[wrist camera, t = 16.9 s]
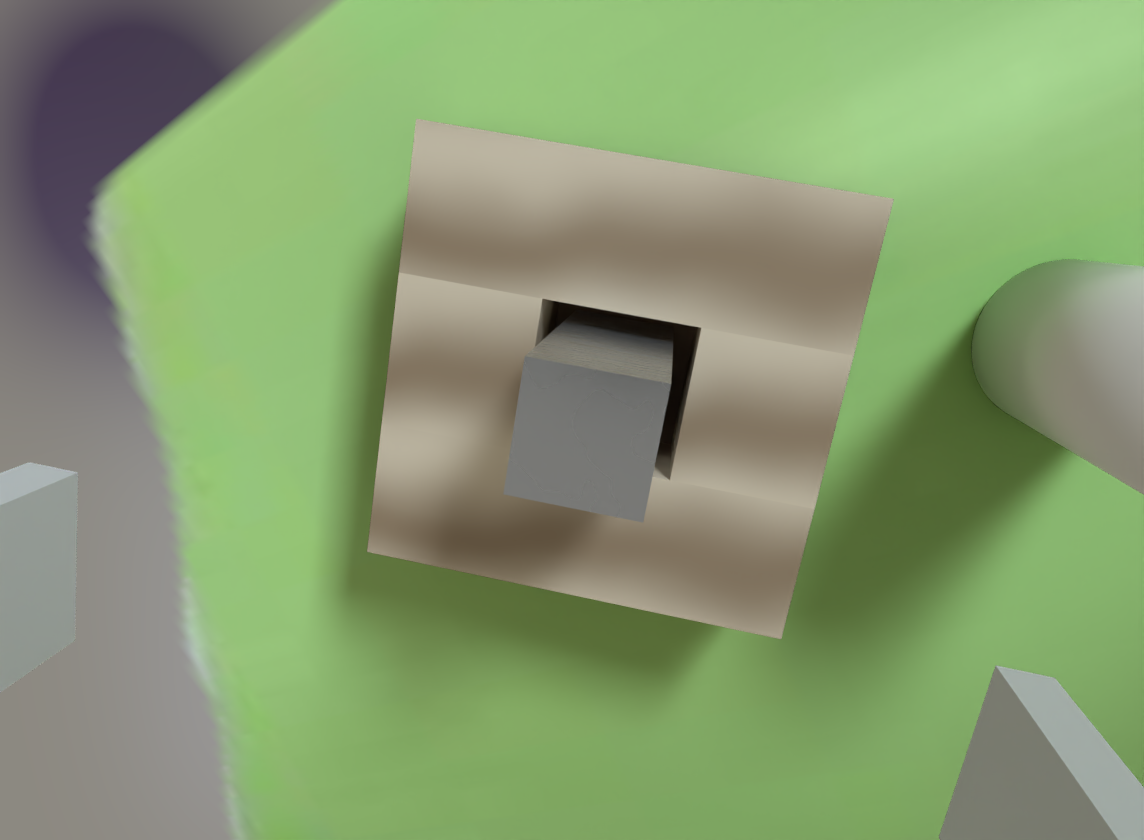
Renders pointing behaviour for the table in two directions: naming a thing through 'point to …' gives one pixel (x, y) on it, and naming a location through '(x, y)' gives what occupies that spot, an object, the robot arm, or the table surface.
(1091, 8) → the table surface
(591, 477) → the square peg
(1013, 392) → the round peg
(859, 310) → the socket block
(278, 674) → the table surface
